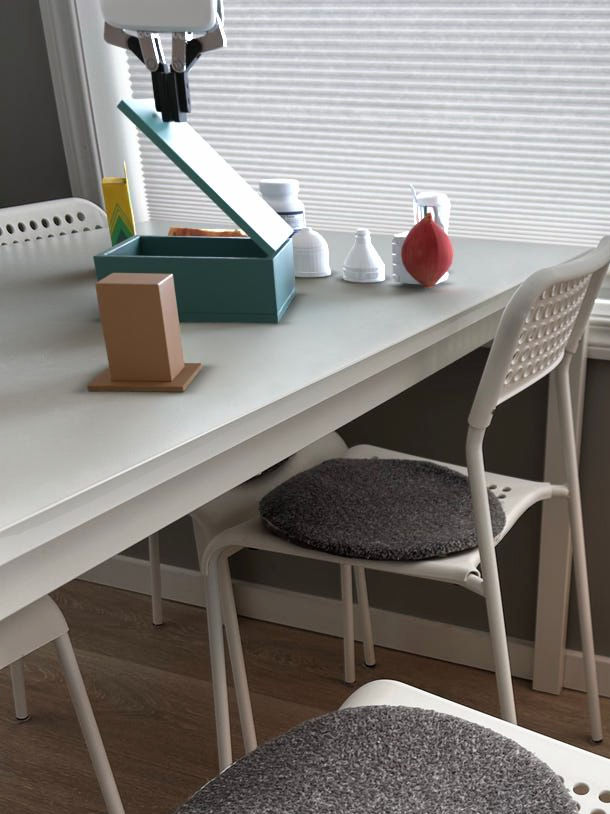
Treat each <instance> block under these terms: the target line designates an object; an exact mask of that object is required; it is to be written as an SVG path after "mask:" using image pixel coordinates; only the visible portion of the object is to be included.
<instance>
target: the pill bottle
mask: <svg viewBox="0 0 610 814" xmlns="http://www.w3.org/2000/svg"><path fill="white" fill-rule="evenodd" d="M258 188H259V189H258V190H259V192H260V194H261V198H262V199H263V200H264V201H265V202H266V203H267V204H268V205H269V206H270V207H271V208H272V209H273V210H274V211H275V212H276V213H277V214H278V215H279V216H280V217H281V218H282V219H283V220H284V221H285V222H286V223H287V224H288V225H289V226H290V227H291V228H292V229H293V230H294V232H293V233H292V234H291V235H290V236H289V237H288V238H291V237H292V236H293V235H294V234H295V233H297V232H299V231H301V230H302V227H307V226H306V215H305V205H304V203H303V202H302V201H301V200H299V199H298V193H299V192H300V186H299V181H298V180H297V179H292V178H291V179H290V178H267V179H261V180H259V181H258Z"/></svg>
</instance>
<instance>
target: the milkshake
mask: <svg viewBox="0 0 610 814" xmlns="http://www.w3.org/2000/svg"><path fill="white" fill-rule="evenodd" d="M409 186H410V190H411V192H412V195H413V199H412V208H413V217H414V218H413V219H414V226H415V225H416V224H417V223H418V222H419V221H420V220H421V219H423V218H424V216H425V215H426V213H429V212H430V213H432V216H433V220H434V222H435V223H436V224H437V225H439V226H440V227H441V228H442V229H443V230H444V231H445V233H446V234H447V235H448V229H449V218H450V209H451V201H450V198H448V195H446V194H445V193H442V192H433V191H427V192H426V191H422V192H420V193H418V194H417V195H416V191H415V189H414V186H413V185H412V184H410V185H409Z"/></svg>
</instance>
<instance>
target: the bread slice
mask: <svg viewBox="0 0 610 814" xmlns="http://www.w3.org/2000/svg"><path fill="white" fill-rule="evenodd" d="M167 236H204V237H249V236H248V235H247V234H246V233H245V232H244V231H243V230H242V229H241V228H234V229H231V228H230V229H229V228H227V229H226V228H214V229H212V228H193V227H181V226H170V227H169V230H168V234H167Z"/></svg>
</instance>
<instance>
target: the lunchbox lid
mask: <svg viewBox="0 0 610 814" xmlns="http://www.w3.org/2000/svg"><path fill="white" fill-rule="evenodd" d="M116 108H117V109H118V110H119V111H120V112H121V114H123V115H124V116H125V117H126V118H127V119H128V120H129V121H130V122H131V123H132V124H133V125H134V126H135V127H136V128H137V129H138V130H139V131H140V132H142V133H143V134H144V135H145V137H147V138H148V139H149V140H150V142H151V143H153V144H154V145H155V146H156V147H157V148H158V149H159V150H160V151H161V152H162V153H163V154H164V155H165V156H166V157H167V158H168V159H169V160H170V161H171V162H172V164H174V165H175V166H176V168H178V169H179V170H180V171H181V172H182V173H183V174H184V175H185V176H186V177H187V178H188V179H189V180H191V182H192V183H194V184H195V185H196V186H197V188H199V189H200V190H201V191H202V192H203V194H205V196H207V197H208V198H209V199H210V200H211V201H212V202H213V203H214V204H215V205H216V206H217V207H218V208H219V209H220V210H221V211H222V212H223V213H224V214H225V215H226V216H227V217H228V218H229V219H230V220H231V221H232V222H233V223H235V225H236V226H237V227H238V228H239V229H241V230H243V231H244V232H245V233H246V234H247V235H248V236H249V237H250V238H251V239H252V240H253V241H254V242H255V243H256V244H257V245H258V246H259V247H260V248H261V249H262V250H263V251H264V252H265V253H266V254H267V255H268V256H269V257H271V256H272V255H273V254H274V253H275V252H276V251H277V249H278V248H279V247H280V246H281V245H282V244H283V243H284V242H285V241H286V240H287V239H288V237H289V236H290V235H291V234H292V233H293V232H294V230H293V229H292V228H291V227H290V226H289V225H288V224H287V223H286V222H285V221H284V220H283V219H282V218H281V217H280V216H279V215H278V214H277V213H276V212H275V211H274V210H273V209H272V208H271V207H270V206H269V205H268V204H267V203H266V202H265V201H264V200H263V199H262V196H261V195H259V194H258V193H257V192H256V190H254V189H253V188H252V187H251V185H249V184H248V183H247V182H246V180H245V179H244V178H242V177H241V176H240V174H239V173H237V171H236V170H235V169H234V168H232V167H231V165H229V164H228V163H227V162H226V161H225V160H224V158H223V157H221V155H220V154H219V153H218V152H216V150H215V149H213V147H212V146H211V145H210V144H209V143H208V142H207V141H206V140H205V139H204V138H202V136H201V135H200V134H199V133H198V132H197V131H196V130H194V128H193V127H192V126H191V125H190V124H189V123H188V121H187V122H182V123H175V122H163V121H162V114H161V112H157V111H156V108H155V102H154V98H131V99H128V98H127V99H121V100H120V101H119V103H118V104H117V105H116Z"/></svg>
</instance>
